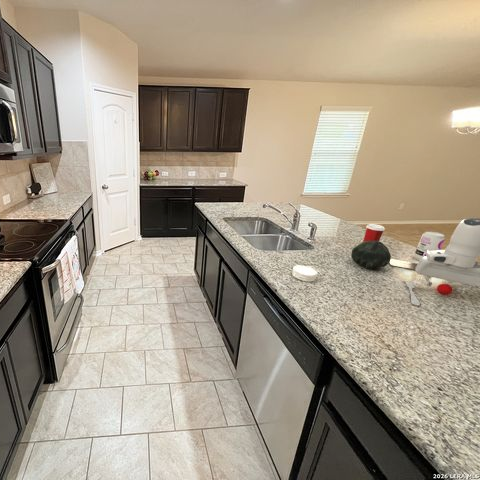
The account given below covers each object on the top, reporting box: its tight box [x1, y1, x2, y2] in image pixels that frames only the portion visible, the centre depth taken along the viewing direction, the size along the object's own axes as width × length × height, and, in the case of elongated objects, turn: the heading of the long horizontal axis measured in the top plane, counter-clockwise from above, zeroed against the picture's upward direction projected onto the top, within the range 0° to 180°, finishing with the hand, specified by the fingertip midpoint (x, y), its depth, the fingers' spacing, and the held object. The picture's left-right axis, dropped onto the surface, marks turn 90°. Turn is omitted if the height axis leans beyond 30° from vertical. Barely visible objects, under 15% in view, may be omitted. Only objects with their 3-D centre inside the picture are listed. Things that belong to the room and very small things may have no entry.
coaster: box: [291, 264, 318, 283], centre depth 117 cm, size 10×10×4 cm
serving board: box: [388, 258, 418, 272], centre depth 128 cm, size 16×10×1 cm, turn 57°
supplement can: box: [413, 231, 446, 262], centre depth 132 cm, size 8×8×15 cm
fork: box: [405, 281, 421, 307], centre depth 105 cm, size 3×21×3 cm, turn 145°
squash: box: [350, 240, 392, 270], centre depth 126 cm, size 14×15×15 cm
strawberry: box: [436, 283, 454, 295], centre depth 104 cm, size 4×4×4 cm
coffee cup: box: [362, 223, 386, 242], centre depth 144 cm, size 8×8×15 cm
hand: (443, 288), depth 105 cm, fingers open, 8 cm apart
